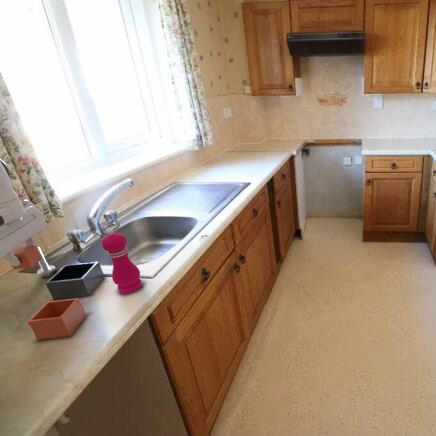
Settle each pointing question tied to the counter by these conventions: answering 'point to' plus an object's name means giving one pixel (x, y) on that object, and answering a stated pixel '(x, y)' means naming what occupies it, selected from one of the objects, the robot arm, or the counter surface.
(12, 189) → the robot arm
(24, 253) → the terracotta block
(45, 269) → the screw
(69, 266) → the grey bin
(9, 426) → the counter surface
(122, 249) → the pepper mill
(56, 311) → the terracotta bin
